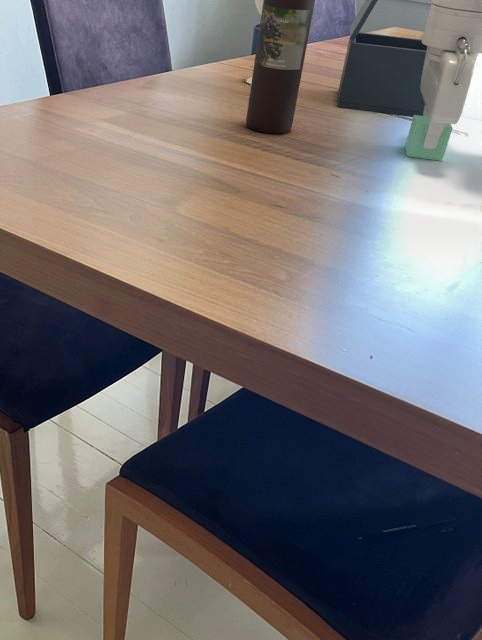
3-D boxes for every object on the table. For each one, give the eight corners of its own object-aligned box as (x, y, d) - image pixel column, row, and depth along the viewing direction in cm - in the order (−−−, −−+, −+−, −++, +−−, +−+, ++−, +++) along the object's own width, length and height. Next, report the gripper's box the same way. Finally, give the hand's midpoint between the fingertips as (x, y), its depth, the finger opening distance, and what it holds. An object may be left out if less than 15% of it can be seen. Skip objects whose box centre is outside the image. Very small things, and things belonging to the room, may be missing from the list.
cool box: (424, 102, 133) (441, 41, 127) (429, 118, 124) (448, 54, 118) (338, 91, 135) (351, 31, 129) (337, 106, 126) (351, 42, 120)
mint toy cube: (439, 151, 108) (449, 119, 105) (442, 161, 104) (452, 127, 101) (404, 146, 109) (413, 114, 106) (406, 156, 105) (416, 123, 102)
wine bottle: (236, 126, 111) (271, -124, 93) (261, 119, 116) (299, -121, 97) (275, 137, 108) (319, -120, 89) (299, 129, 112) (346, -117, 94)
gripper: (495, 48, 88) (457, 165, 97) (473, 24, 104) (442, 126, 113) (442, 42, 89) (409, 158, 98) (428, 19, 105) (401, 121, 114)
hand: (426, 141), depth 105 cm, fingers closed on mint toy cube, 5 cm apart
